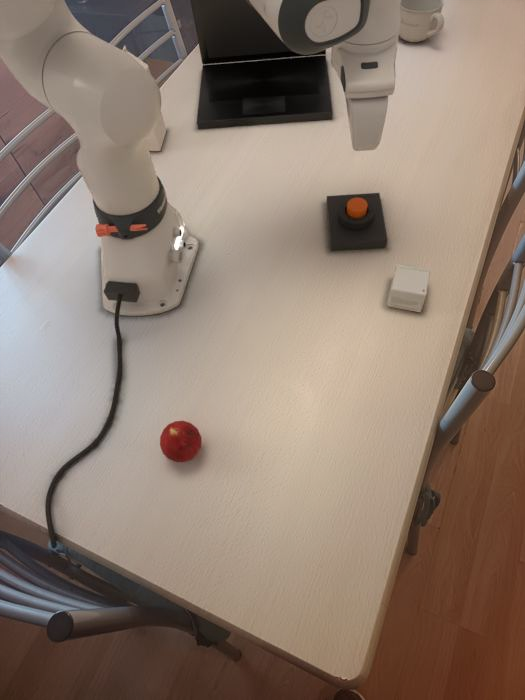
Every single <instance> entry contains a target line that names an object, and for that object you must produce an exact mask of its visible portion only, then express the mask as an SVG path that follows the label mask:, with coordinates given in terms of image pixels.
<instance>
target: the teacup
mask: <svg viewBox="0 0 525 700" xmlns="http://www.w3.org/2000/svg"><path fill="white" fill-rule="evenodd" d="M444 5H445V1H444V0H402V1H401V4H400V12H399V13H400V21H401V22H400V31H399V38H401V40H404V41H406V42H410V43H419V42H423V41H425V40H427V39H428V38H431V37H432V36H433V35H437V34H439V33H440V32H441V31H442V30H443V28H444V25H445V18H444V15H443V14H442V10H443V7H444Z"/></svg>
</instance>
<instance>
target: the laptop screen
mask: <svg viewBox="0 0 525 700" xmlns="http://www.w3.org/2000/svg"><path fill="white" fill-rule="evenodd" d="M190 6H191V11H192V16H193V21H194V26H195V32H196V38H197V42H198V43H197V44H198V48H199V54H200V59H201V64H202V66H203V65H211V64H224V63H236V62H248V61H260V60H272V59H285V58H297V57H309V56H321V55H326V56H327V49H326V50H323V51H321V52H318V53H315V54H310V55H303V54H298V53H295V52H293V51H292V50H290V49H289V48H288V47H287V46H286V45H285V44H284V43H283V42H282V41H281V39H280V38H279V37H278V36H277V35H276V34H275V32H274V31H273V30H272V29H271V28H270V26H269V25H268V24H267V23H266V21H265V20H264V19H263V18H262V17H261V15H260V14H259V13H258V12H257V11H256V10H255V9H254V8H253V7H252V6H251V5H250V4H249V3H248V2H247V1H246V0H190Z"/></svg>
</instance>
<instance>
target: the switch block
mask: <svg viewBox="0 0 525 700" xmlns="http://www.w3.org/2000/svg"><path fill="white" fill-rule="evenodd" d="M352 198H362V199H364V200H366V202H367V204H368V206H367V213H366V215H365V216H364V217H362V218H356V219H355V218H352V217H350V216H348V214H347V203H348V201H349V200H350V199H352ZM325 200H326V201H325V204H326V206H325V207H326V216H327V226H328V228H327V229H328V236H329V248H330V249H329V250H330V252H344V251H362V250H381V249H386V248H387V244H388V235H387V229H386V224H385V218H384V212H383V206H382V205H383V204H382V200H381V194H380V192H370V193H369V192H368V193H354V194H352V193H351V194H338V195H337V194H336V195H326V199H325Z"/></svg>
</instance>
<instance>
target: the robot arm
mask: <svg viewBox="0 0 525 700" xmlns="http://www.w3.org/2000/svg"><path fill="white" fill-rule="evenodd" d="M246 1H247V2H248V3H249V4H250V5H251V6H252V7H253V8H254V9H255V10H256V11H257V12H258V13H259V14H260V15H261V17H262V18H263V19H264V20H265V21H266V23H267V24H268V25H269V26H270V28H271V29H272V30H273V31H274V32H275V34H276V35H277V36H278V37H279V38H280V39H281V41H282V42H283V43H284V44H285V45H286V46H287V47H288V48H289V49H290V50H292V51H293V52H295V53H298V54H303V55H310V54H315V53H318V52H321V51H323V50H326V51H327V50H328V49H331V57H330V63H331V66H332V69H333V70H334V71H335V72H336V74H337V76H338V78H339V81H340V83H341V86H342V90H343V93H344V97H345V104H346V111H347V112H346V113H347V119H348V126H349V133H350V139H351V140H350V141H351V148H352V150H353V151H354V152H365V151H366V152H367V151H374V150H377V148H378V147H379V145H380V143H381V141H382V135H383V132H384V126H385V123H386V122H385V121H386V117H387V113H388V107H389V96H393V95H394V93H395V89H396V60H397V55H398V54H397V53H398V44H399V38H400V35H399V31H400V22H401V21H400V13H399V12H400V4H401V1H402V0H246ZM0 60H2V62H3V63H4V64H5V66H6V68H7V69H8V71H9V72H10V73H11V75H12V76H13V77H14V78H15V80H16V81H17V82H18V83H19V84H20V85H21V87H22V88H23V89H24V90H25V91H26V92H27V93H28V94H29V95H30V96H31V97H32V98H33V99H35V100H36V101H37V102H39V103H41V104H42V105H44V106H45V107H47V108H48V109H49V110H51V111H53V112H54V113H56V114H57V115H59V116H60V117H61V118H62V119H64V121H65V122H66V123H68V125H69V126H70V127H71V129H72V130H73V131H74V133H75V134H76V136H77V139H78V142H79V146H80V147H79V149H78V151H77V153H76V165H77V169H78V171H79V173H80V175H81V177H82V179H83V181H84V183H85V185H86V187H87V190H88V192H89V193H90V195H91V197H92V204H93V210H94V214H95V217H96V218H97V222H98V223H97V224H96V225H95V228H94V229H95V230H94V231H95V234H96V236H97V237H98V238H99V239H100V269H101V273H100V274H101V294H102V296H101V297H102V306H103V308H104V310H106V311H108V312H110V313H111V314H114V330H115V334H116V349H117V350H116V351H117V352H116V353H117V367H116V377H115V383H114V384H115V385H114V389H113V396H112V402H111V405H110V410H109V413H108V416H107V419H106V421H105V422H104V424H103V427H102V429H101V430H100V431H99V433H98V435H97V437H96V438H95V439H94V440H93V441H92V442H91V443H90V444H89V445H88V446H86V447H85V448H84V449H83V450H81V451H80V452H79V453H77V454H76V455H74V456H73V457H71V458H70V459H69V460H68V461H66V463H64V465H62V466H61V467H60V468H59V469H58V470H57V472H56V474H55V475H54V476H53V478H52V479H51V482H50V484H49V487H48V489H47V493H46V497H45V504H44V508H45V520H46V525H47V531H48V537H49V541H50V545H51V546H50V547H51V549H53V550H54V549H56V548H57V545H58V543H57V538H56V533H55V527H54V522H53V515H52V499H53V494H54V491H55V488H56V486H57V484H58V482H59V479H60V478H61V477H62V475H64V473H65V472H66V471H67V470H68V469H69V468H70V467H71V466H72V465H74V464H75V463H76V462H78V461H79V460H80V459H82V458H84V457H85V456H86V455H87V454H88V453H90V452H91V451H92V450H94V449H95V448H96V447H97V445H98V444H99V443H100V442H101V441H102V440H103V438H104V437H105V435H106V433H107V432H108V430H109V428H110V426H111V423H112V422H113V419H114V416H115V413H116V410H117V404H118V399H119V394H120V389H121V381H122V373H123V349H122V348H123V347H122V333H121V329H120V316H128V317H137V316H139V317H141V316H142V317H143V316H150V315H151V316H152V315H157V314H162V313H165V312H168V311H171V310H173V309H175V308H176V307H178V306H180V304H181V302H182V300H183V297H184V293H185V291H186V287H187V284H188V281H189V278H190V276H191V272H192V270H193V267H194V264H195V260H196V258H197V254H198V251H199V248H200V243H199V241H198V239H197V238H196V237H193V236H192V235H190V234H189V232H188V230H187V227H186V225H185V222H184V220H183V217H182V215H181V213H180V211H179V210H178V209H177V208H175V207H174V206H173V205H172V204H171V203H170V202H169V201H168V197H167V193H166V190H165V189H166V188H165V187H164V184H163V182H162V181H161V179H160V178H159V176H158V175H157V172H156V169H155V165H154V162H153V159H152V156H151V153H150V151H149V149H148V143H147V137H148V136H149V135H150V134H151V133H152V131H153V130H154V128H155V127H156V125H157V122H158V120H159V116H160V112H161V113H162V95H161V90H160V87H159V84H158V83H157V81H156V79H155V78H154V77H153V75H152V74H151V72H150V73H149V72H148V71H147V70H146V69H145V68H144V67H143V66H142V65H141V64H139V63H138V62H137V61H136V60H135V59H134V58H133V57H132V56H130V55H129V54H128V53H127V52H125V51H123V49H121V48H119V47H117V46H115V45H113V44H112V43H109V42H107V41H105V40H103V39H102V38H100V37H98V36H96V35H94V34H93V33H91V32H90V31H89V30H88V29H87V28H85V26H83V25H82V24H81V23H80V21H78V20H77V18H76V17H75V16H74V15H73V13H72V12H71V10H70V9H69V7H68V5H67V3H66V1H65V0H0Z"/></svg>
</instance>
